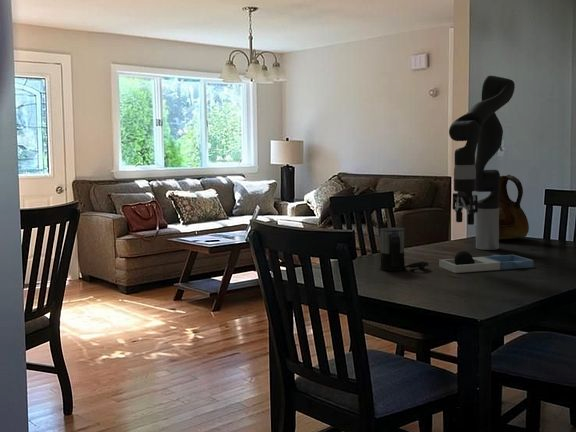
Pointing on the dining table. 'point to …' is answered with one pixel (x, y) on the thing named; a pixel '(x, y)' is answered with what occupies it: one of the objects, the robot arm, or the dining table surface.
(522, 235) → the ceramic pitcher
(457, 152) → the robot arm
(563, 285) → the dining table surface
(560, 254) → the dining table surface
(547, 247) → the dining table surface
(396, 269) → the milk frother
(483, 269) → the two-tone divided frame
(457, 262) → the light bulb
